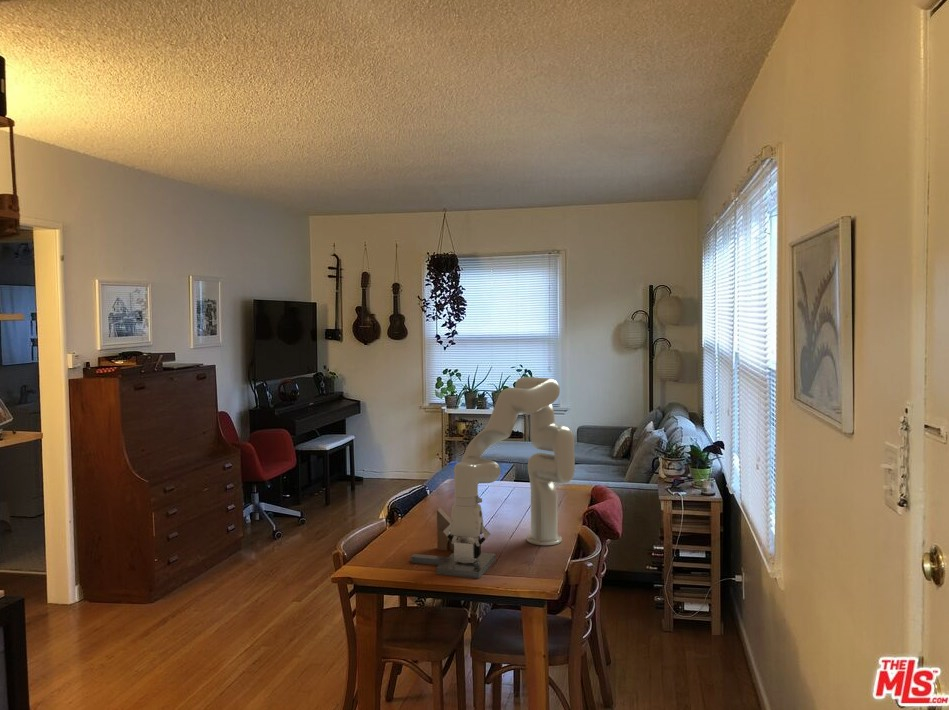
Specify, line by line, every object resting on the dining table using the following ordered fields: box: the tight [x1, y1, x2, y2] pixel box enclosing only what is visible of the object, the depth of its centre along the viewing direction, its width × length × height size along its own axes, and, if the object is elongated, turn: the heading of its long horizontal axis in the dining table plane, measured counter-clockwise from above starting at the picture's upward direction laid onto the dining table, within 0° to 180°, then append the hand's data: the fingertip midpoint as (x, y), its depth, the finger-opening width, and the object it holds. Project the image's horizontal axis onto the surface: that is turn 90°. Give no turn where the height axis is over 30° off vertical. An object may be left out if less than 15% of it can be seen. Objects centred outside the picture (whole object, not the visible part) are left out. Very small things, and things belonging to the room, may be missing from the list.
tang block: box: [410, 552, 497, 580], centre depth 223 cm, size 18×26×7 cm
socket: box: [454, 537, 477, 563], centre depth 221 cm, size 6×6×6 cm
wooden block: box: [436, 507, 460, 552], centre depth 238 cm, size 4×11×18 cm, turn 76°
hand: (466, 555), depth 221 cm, fingers closed on socket, 6 cm apart
